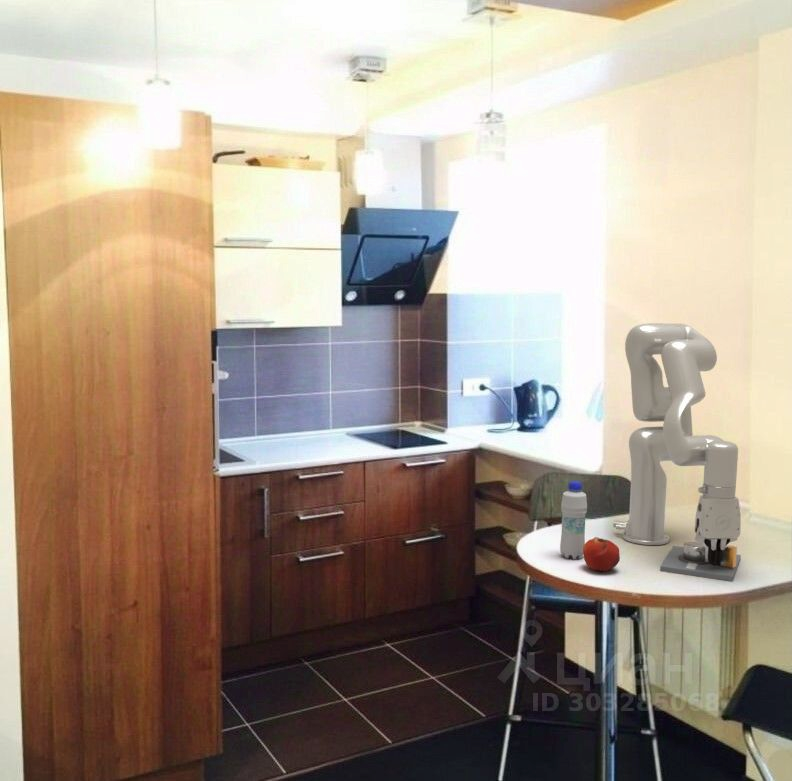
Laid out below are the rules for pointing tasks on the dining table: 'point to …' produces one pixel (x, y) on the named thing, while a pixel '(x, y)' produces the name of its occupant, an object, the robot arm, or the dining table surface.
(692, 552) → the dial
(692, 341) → the robot arm
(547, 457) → the dining table surface
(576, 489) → the bottle
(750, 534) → the dining table surface
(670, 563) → the panel
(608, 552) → the tomato
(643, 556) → the dining table surface
